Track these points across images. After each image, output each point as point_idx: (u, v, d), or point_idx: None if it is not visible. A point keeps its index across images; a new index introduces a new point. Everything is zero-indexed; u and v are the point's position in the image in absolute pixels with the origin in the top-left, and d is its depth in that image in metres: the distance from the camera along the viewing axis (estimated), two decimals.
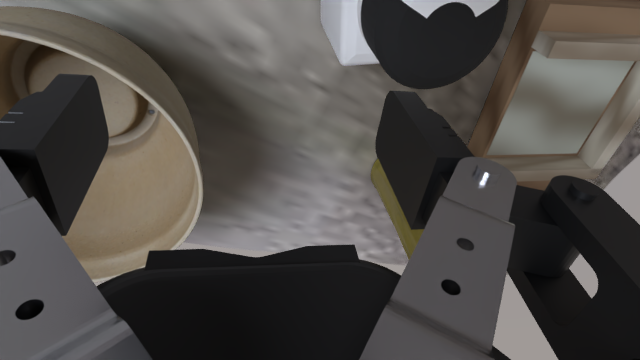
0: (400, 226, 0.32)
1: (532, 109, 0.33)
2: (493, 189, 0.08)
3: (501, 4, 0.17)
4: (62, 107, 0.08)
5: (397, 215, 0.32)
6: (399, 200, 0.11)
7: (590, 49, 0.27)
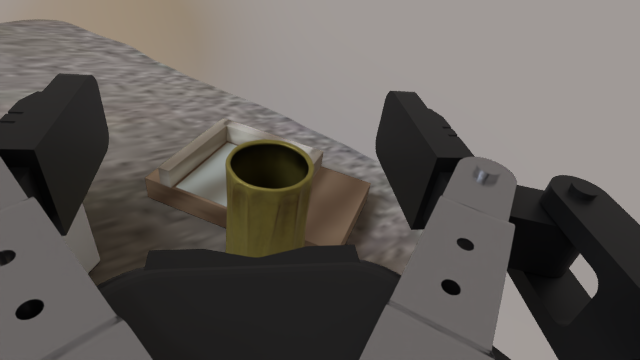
0: None
1: None
2: (493, 189, 0.08)
3: None
4: (62, 107, 0.08)
5: None
6: (399, 200, 0.11)
7: (182, 153, 0.39)
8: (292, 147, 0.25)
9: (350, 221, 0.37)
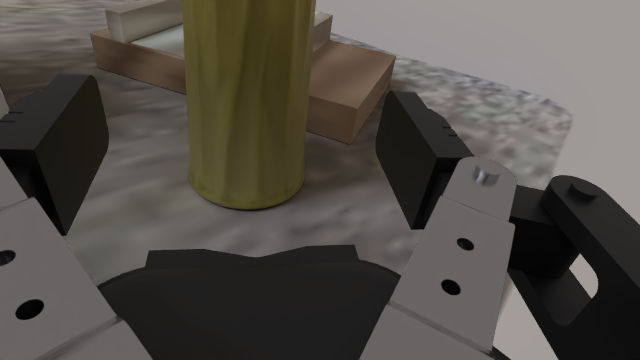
0: (212, 49, 0.15)
1: None
2: (493, 189, 0.08)
3: None
4: (62, 107, 0.08)
5: (209, 72, 0.16)
6: (399, 200, 0.11)
7: (142, 2, 0.29)
8: None
9: (373, 84, 0.27)
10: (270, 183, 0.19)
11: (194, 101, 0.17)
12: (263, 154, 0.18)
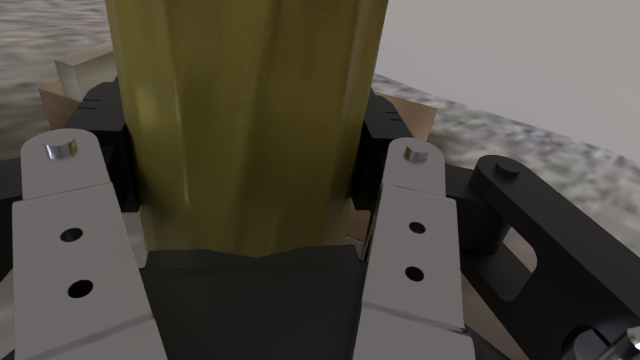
0: (180, 209, 0.08)
1: None
2: (419, 166, 0.08)
3: None
4: None
5: (177, 240, 0.09)
6: None
7: (108, 45, 0.22)
8: None
9: None
10: None
11: None
12: None
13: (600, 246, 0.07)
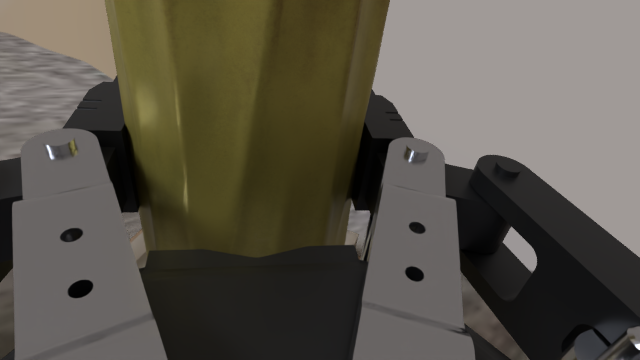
0: (180, 210, 0.08)
1: None
2: (419, 166, 0.08)
3: None
4: None
5: (177, 241, 0.09)
6: None
7: None
8: None
9: None
10: None
11: None
12: None
13: (600, 246, 0.07)
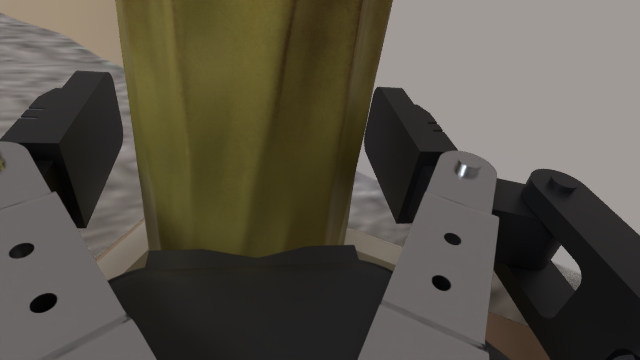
0: None
1: None
2: (473, 182, 0.08)
3: None
4: (82, 103, 0.09)
5: None
6: (386, 195, 0.11)
7: None
8: None
9: None
10: None
11: None
12: None
13: None
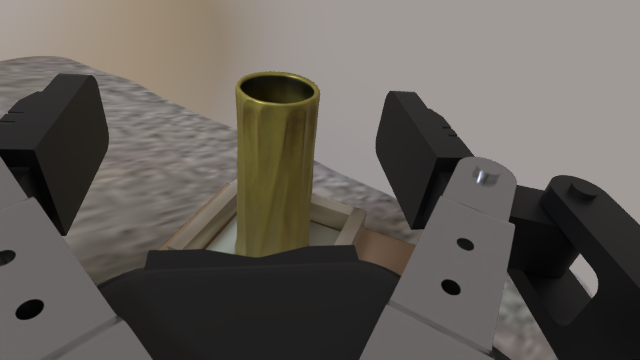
0: (255, 194, 0.26)
1: None
2: (493, 189, 0.08)
3: None
4: (62, 107, 0.08)
5: (252, 205, 0.27)
6: (399, 200, 0.11)
7: (197, 223, 0.32)
8: (298, 77, 0.26)
9: None
10: None
11: (242, 216, 0.29)
12: (283, 245, 0.29)
13: None
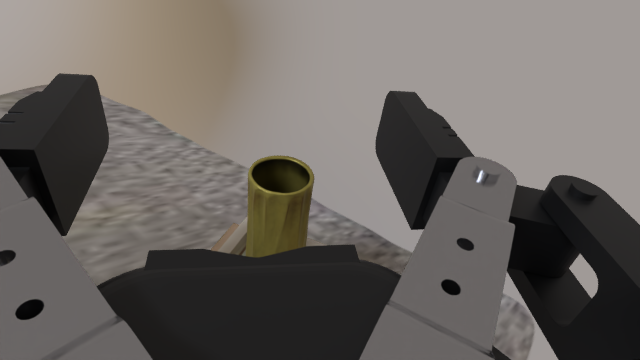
0: (261, 253, 0.33)
1: None
2: (493, 189, 0.08)
3: None
4: (62, 107, 0.08)
5: None
6: (400, 200, 0.11)
7: None
8: (297, 161, 0.33)
9: None
10: None
11: None
12: None
13: None
